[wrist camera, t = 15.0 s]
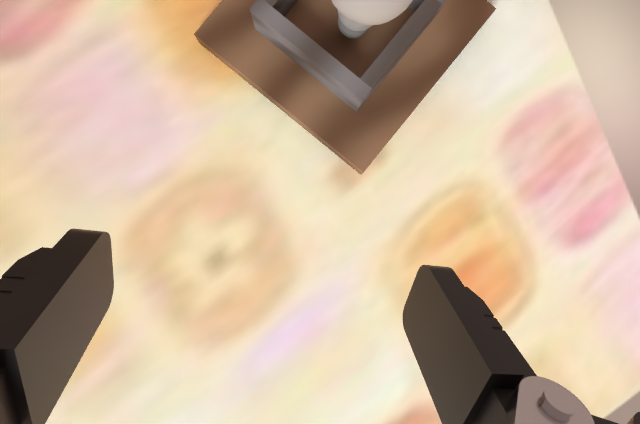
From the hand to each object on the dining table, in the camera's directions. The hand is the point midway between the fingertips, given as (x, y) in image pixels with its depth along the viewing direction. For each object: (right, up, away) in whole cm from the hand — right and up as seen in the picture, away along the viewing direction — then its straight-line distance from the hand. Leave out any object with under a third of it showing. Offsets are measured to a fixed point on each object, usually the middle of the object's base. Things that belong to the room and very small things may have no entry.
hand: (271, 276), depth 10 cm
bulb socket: (+4, +18, +23) cm, 29 cm away
